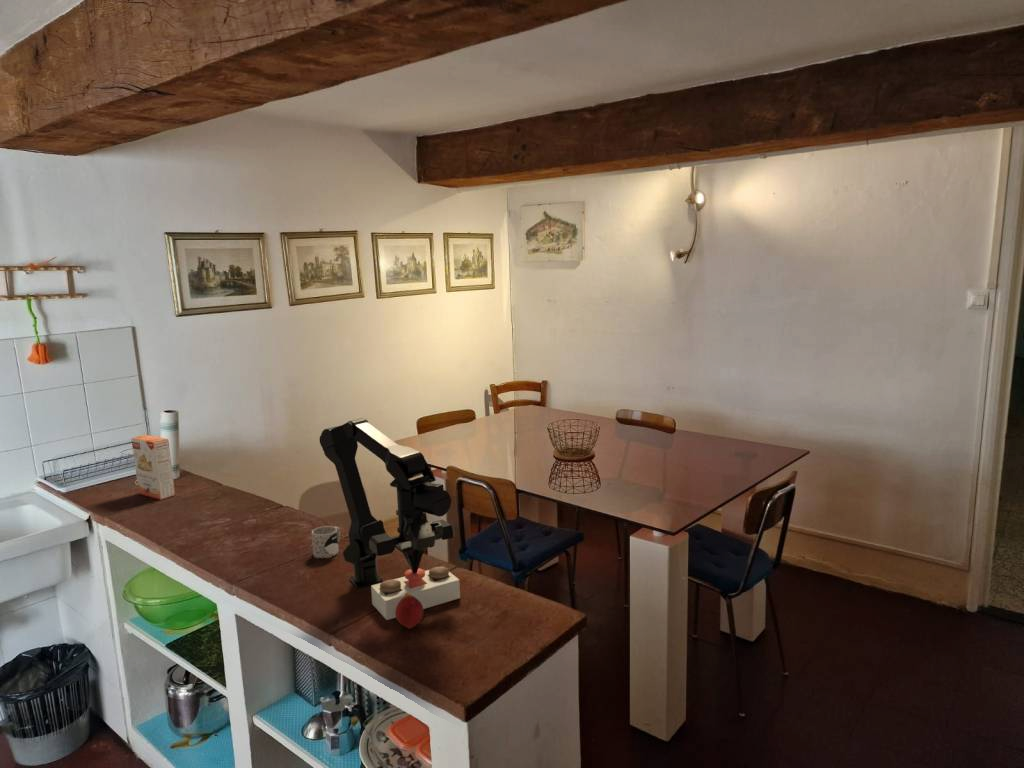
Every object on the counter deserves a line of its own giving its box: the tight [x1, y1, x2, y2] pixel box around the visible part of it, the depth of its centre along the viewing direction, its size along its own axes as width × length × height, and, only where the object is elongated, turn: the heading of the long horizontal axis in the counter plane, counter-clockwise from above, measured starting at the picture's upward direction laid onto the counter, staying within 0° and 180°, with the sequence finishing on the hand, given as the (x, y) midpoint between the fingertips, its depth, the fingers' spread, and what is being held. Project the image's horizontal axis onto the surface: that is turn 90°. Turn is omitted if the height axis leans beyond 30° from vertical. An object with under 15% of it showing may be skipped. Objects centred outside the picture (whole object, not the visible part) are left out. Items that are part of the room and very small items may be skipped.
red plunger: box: [404, 567, 426, 588], centre depth 160 cm, size 5×5×6 cm
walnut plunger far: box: [428, 566, 450, 581], centre depth 163 cm, size 5×5×6 cm
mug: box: [311, 525, 341, 560], centre depth 190 cm, size 10×7×7 cm, turn 161°
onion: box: [395, 593, 424, 630], centre depth 148 cm, size 6×6×8 cm
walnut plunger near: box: [380, 579, 401, 596], centre depth 157 cm, size 5×5×6 cm
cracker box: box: [130, 434, 176, 501], centre depth 245 cm, size 14×6×21 cm, turn 57°
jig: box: [370, 565, 461, 621], centre depth 160 cm, size 9×18×4 cm, turn 121°
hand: (414, 572), depth 159 cm, fingers closed, pressing on red plunger
